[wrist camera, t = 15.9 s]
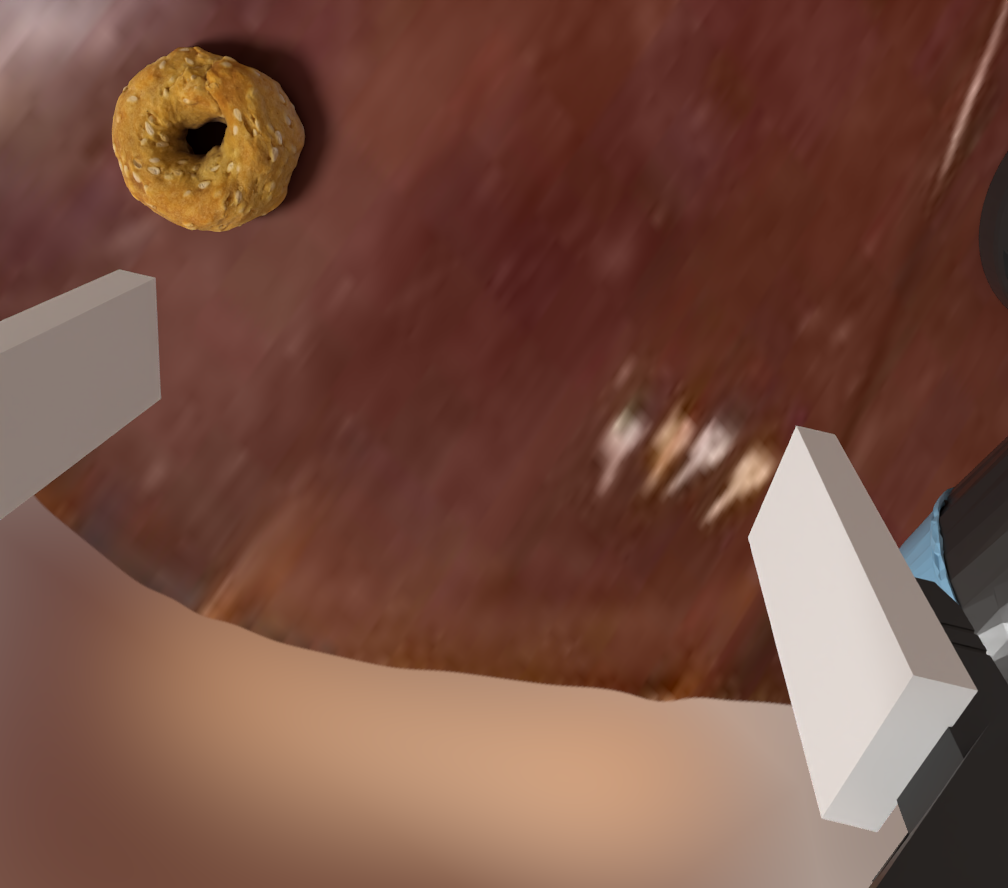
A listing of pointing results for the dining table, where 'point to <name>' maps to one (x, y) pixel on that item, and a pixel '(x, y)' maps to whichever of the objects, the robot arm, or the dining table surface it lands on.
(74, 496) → the dining table surface
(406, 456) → the dining table surface
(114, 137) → the bagel
